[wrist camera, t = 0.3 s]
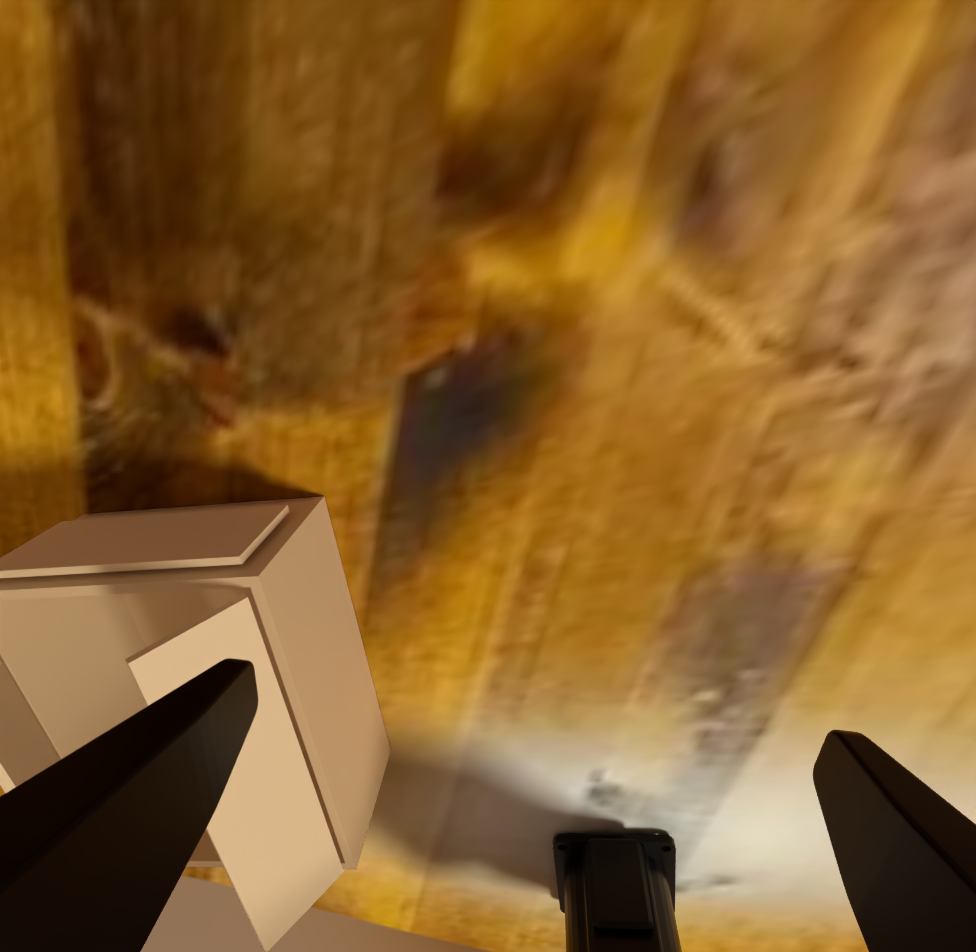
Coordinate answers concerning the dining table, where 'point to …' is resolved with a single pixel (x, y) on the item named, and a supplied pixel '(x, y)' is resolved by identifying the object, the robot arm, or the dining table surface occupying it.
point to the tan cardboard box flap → (253, 776)
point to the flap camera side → (20, 738)
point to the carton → (180, 601)
